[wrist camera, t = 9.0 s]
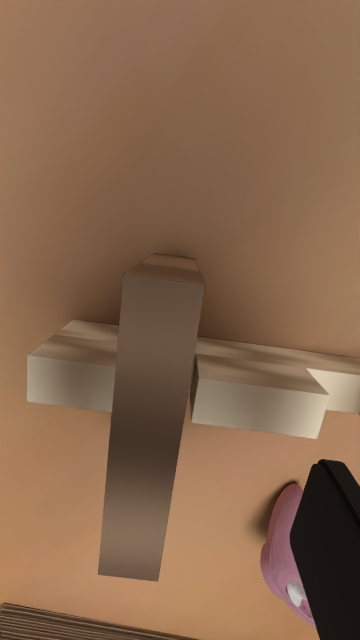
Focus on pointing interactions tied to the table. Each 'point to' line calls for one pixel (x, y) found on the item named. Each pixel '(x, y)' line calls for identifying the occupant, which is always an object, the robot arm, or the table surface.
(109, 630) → the file folder
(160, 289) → the walnut plate
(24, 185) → the table surface
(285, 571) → the video game controller
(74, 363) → the wooden crenellated block
